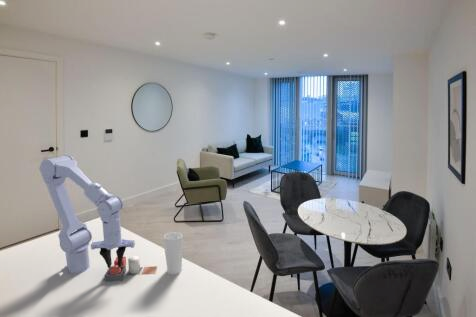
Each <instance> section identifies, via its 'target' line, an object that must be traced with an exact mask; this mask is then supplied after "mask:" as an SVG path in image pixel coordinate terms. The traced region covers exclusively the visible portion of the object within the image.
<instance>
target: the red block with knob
mask: <svg viewBox="0 0 476 317" xmlns="http://www.w3.org/2000/svg"><path fill="white" fill-rule="evenodd" d="M113 264H114V265H118V258H117V256H116V257H115V259H114V261H113ZM114 265H113V266H114ZM121 266H126V267H127V256H123V259H122V265H121Z"/></svg>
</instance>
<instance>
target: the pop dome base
mask: <svg viewBox="0 0 476 317" xmlns="http://www.w3.org/2000/svg"><path fill="white" fill-rule="evenodd" d="M112 266H113V265H111V267H112ZM111 267H110V268H108V267H107V270H106V272H105V274H104V282H116V281H117V282H121V281H123V279H124V277H125V276H126V274H127V265H126V266H121V267H120V268H121V274H110V269H111Z"/></svg>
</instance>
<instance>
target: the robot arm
mask: <svg viewBox="0 0 476 317" xmlns="http://www.w3.org/2000/svg"><path fill="white" fill-rule="evenodd" d="M39 172H40V174H41V176H42V180H43V182H44V183H45V185H46V188H47V190H48V193H49V195H50V199H51V200H52V203H53V205H54V208H55V212H56V213H57V215H58V218H59V220H60V223H61V226H62V228H61V230H60V231H59V233H58V234H57V237H58V239H59V247H60V249H61V250H62V251H63V252H64V253H65V258H66V265H65V266H64V269H66V268H67V269H68V273H70V274H80V273H83V272H85V271H88V269H89V268H90V267H91V265H90V264H91V263H90V256H89V246H90V250H95V249H100V250H99V255H100V256H101V257H102V258H103V260H104V262H105V263H106V266H107V269H108V268H110V267H111V266H113V265H112V250H113V249H116V248H117V249H116V250H115V252H116V257H117V258H118V267H121V265H122V259H123V257H124V255H125V252H126V249H127V248H131V249H134V248H135V245H136V242H135V240H133V239H132V240H131V239H122V229H121V228H122V227H121V216H120V215H121V214H120V211H121V210H122V209H123V202H122V200H121V199H122V198H120V197H119V196H118V195H113V194H110V193H109V192H108V191H107V190H106V189H105V188H103V187H102V185H101V184H100V183H98V182H92V181H91V180H90V179H89V178H88V177H87V175H85V174H84V173H83V171H82V170H81V169H80V167H78V162H77V160H75V159H74V158H73V156H71V155H70V154H65V155H63V156H62V155H61V156H58V157H52V158H44V159H43V160H42V161H41V162H40V165H39ZM67 178H69V179H70V180H72V182H74V183H75V184H76V185H77V186H79V187H80V188H82V189H83V190H84V191H83V192H84V196H85V197H86V198H87V199H88V200H89V201H90V202H92V204H93V205H95V206H96V207H97V208H96V211H97V213H98V215H99V216H100V220H101V223H102V232H103V234H102V235H103V240H99V241H92V238H93V236H92V231H91V230H90V229H89V228H88V226H87V225H86V223H84V222H82V221H79V219H78V216H77V213H76V212H75V209H74V206H73V203H72V200H71V198H70V195H69V194H68V191H67V187H66V186H65V181H66V179H67ZM91 241H92V243H91V244H90V242H91Z"/></svg>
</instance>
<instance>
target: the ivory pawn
mask: <svg viewBox="0 0 476 317" xmlns="http://www.w3.org/2000/svg"><path fill="white" fill-rule="evenodd" d="M127 262H128V264H127V265H128V270H129V273H130V274H136V273H138V272H140V267H141V261H140V256H137V255H133V256H130V257H128V259H127Z"/></svg>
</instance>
